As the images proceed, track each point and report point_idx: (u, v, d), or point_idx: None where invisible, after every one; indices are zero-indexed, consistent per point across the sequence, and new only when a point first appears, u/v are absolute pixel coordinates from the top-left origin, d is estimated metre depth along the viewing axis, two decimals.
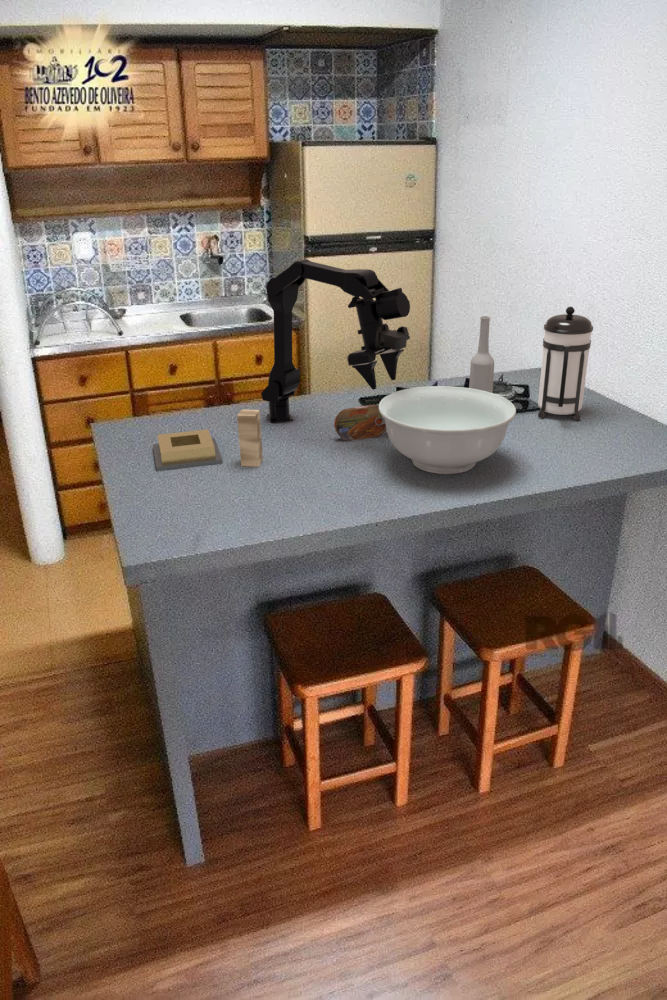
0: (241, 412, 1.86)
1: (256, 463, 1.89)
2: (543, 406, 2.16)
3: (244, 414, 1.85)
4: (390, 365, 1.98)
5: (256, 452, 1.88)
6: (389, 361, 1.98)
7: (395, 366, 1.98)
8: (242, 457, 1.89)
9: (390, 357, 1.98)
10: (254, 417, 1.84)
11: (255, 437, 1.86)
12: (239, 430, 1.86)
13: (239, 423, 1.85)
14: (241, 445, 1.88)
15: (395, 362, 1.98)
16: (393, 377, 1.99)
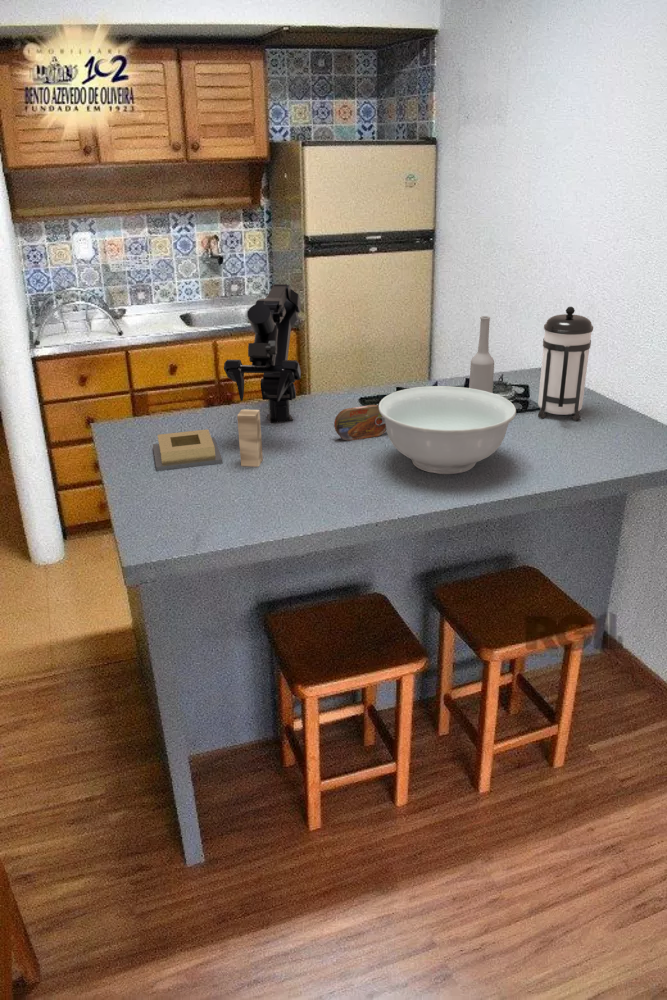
0: (241, 412, 1.86)
1: (256, 463, 1.89)
2: (543, 406, 2.16)
3: (244, 414, 1.85)
4: None
5: (256, 452, 1.88)
6: None
7: (279, 386, 1.92)
8: (242, 457, 1.89)
9: None
10: (254, 417, 1.84)
11: (255, 437, 1.86)
12: (239, 430, 1.86)
13: (239, 423, 1.85)
14: (241, 445, 1.88)
15: (280, 382, 1.92)
16: (277, 397, 1.92)
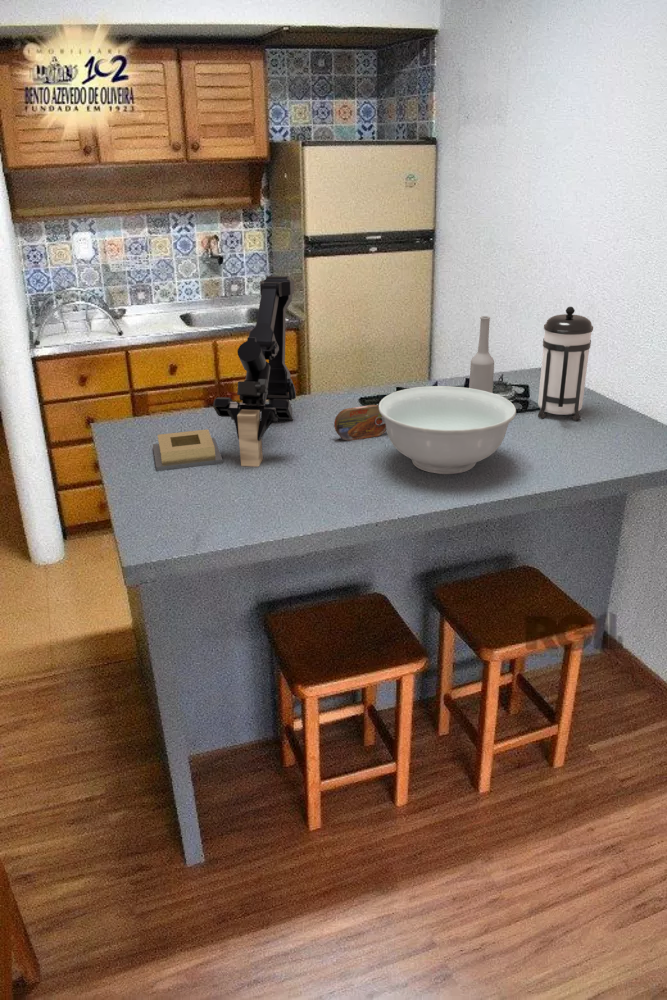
0: (241, 412, 1.86)
1: (256, 463, 1.89)
2: (543, 406, 2.16)
3: (244, 414, 1.85)
4: None
5: (256, 452, 1.88)
6: None
7: (260, 425, 1.87)
8: (242, 457, 1.89)
9: None
10: (254, 417, 1.84)
11: (255, 437, 1.86)
12: (239, 430, 1.86)
13: (239, 423, 1.85)
14: (241, 445, 1.88)
15: (261, 421, 1.87)
16: None
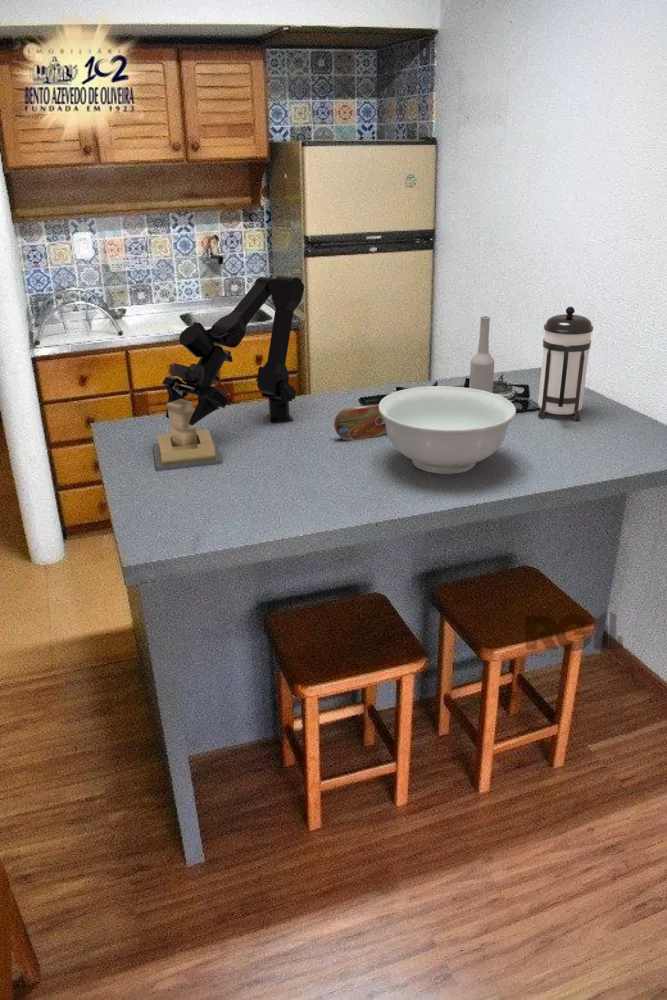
0: (175, 401, 1.92)
1: None
2: (543, 406, 2.16)
3: (173, 403, 1.90)
4: None
5: (182, 442, 1.92)
6: None
7: (195, 411, 1.89)
8: (173, 444, 1.95)
9: None
10: (178, 408, 1.88)
11: (180, 427, 1.91)
12: (170, 418, 1.92)
13: (169, 411, 1.91)
14: (172, 432, 1.94)
15: (197, 407, 1.89)
16: None
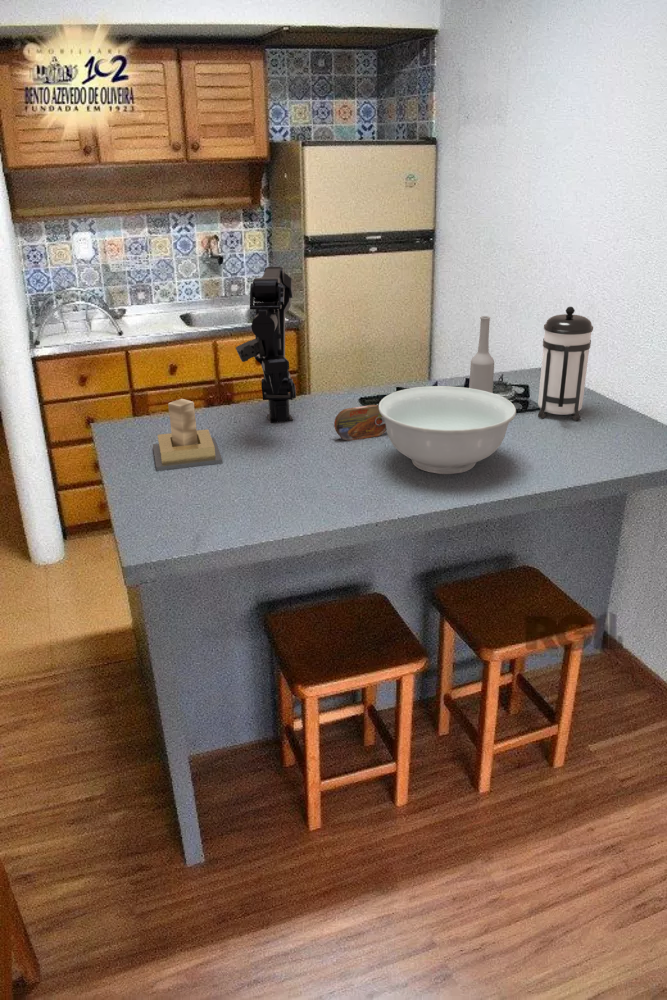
0: (176, 401, 1.92)
1: None
2: (543, 406, 2.16)
3: (174, 403, 1.90)
4: None
5: (182, 442, 1.92)
6: None
7: (270, 382, 1.97)
8: (174, 444, 1.95)
9: None
10: (179, 407, 1.88)
11: (181, 427, 1.91)
12: (170, 418, 1.92)
13: (170, 411, 1.91)
14: (172, 432, 1.94)
15: (269, 378, 1.96)
16: None
